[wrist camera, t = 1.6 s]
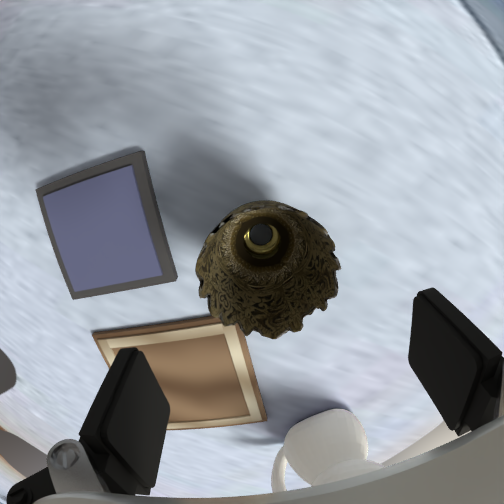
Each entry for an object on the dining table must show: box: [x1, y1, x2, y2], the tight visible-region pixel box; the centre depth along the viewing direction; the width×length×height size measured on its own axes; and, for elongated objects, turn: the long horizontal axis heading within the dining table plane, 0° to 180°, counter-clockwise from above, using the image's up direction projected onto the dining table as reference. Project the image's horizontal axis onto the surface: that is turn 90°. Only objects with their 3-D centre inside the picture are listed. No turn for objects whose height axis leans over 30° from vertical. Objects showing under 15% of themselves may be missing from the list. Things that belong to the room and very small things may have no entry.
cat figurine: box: [271, 409, 385, 493], centre depth 24 cm, size 9×12×15 cm
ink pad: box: [36, 151, 178, 300], centre depth 22 cm, size 10×10×1 cm
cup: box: [195, 200, 341, 339], centre depth 19 cm, size 8×7×8 cm
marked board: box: [92, 316, 267, 430], centre depth 28 cm, size 14×14×1 cm
